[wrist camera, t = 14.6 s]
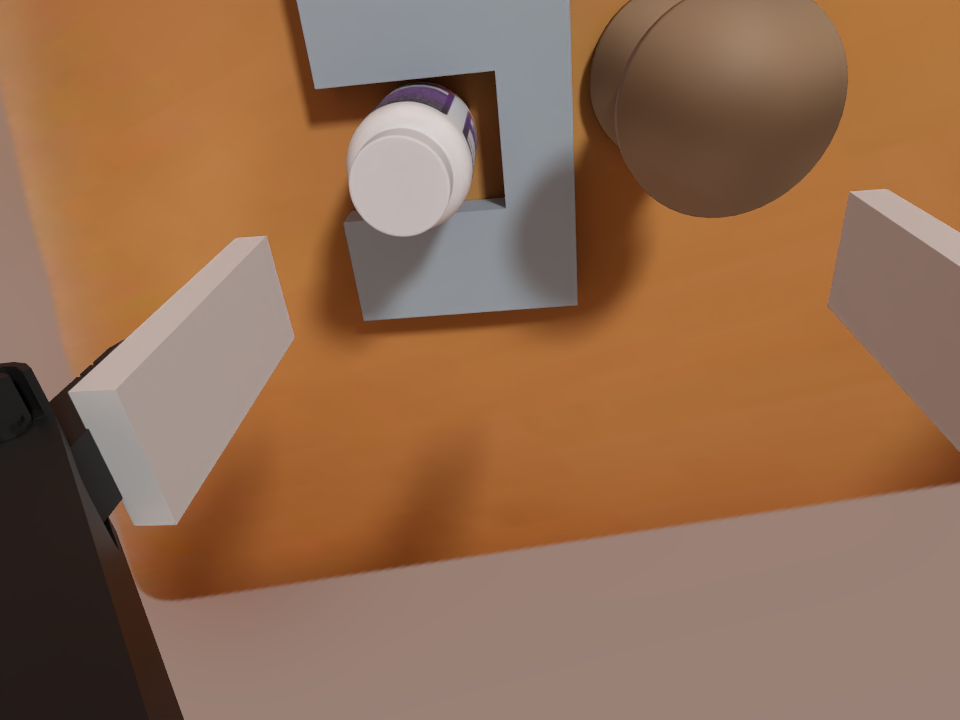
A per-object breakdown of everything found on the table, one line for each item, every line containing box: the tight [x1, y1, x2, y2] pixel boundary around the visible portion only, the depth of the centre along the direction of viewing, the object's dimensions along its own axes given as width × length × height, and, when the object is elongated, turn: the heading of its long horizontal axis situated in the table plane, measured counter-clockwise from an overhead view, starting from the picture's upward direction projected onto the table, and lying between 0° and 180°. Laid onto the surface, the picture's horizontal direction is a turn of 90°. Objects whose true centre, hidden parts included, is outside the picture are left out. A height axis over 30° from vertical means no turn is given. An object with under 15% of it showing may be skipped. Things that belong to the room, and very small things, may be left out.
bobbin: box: [589, 0, 848, 218], centre depth 28 cm, size 8×8×10 cm
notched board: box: [296, 0, 578, 321], centre depth 33 cm, size 18×12×2 cm, turn 6°
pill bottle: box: [346, 82, 477, 237], centre depth 29 cm, size 5×5×10 cm
